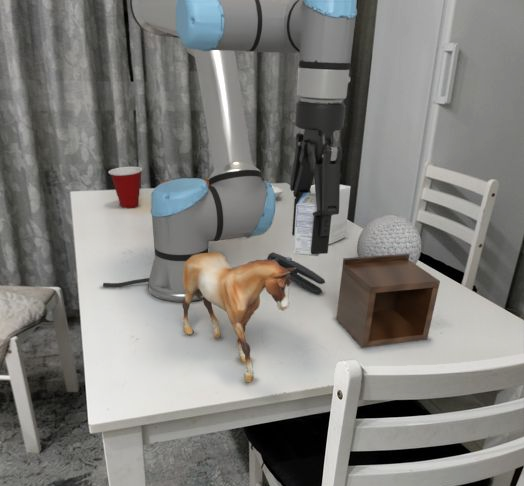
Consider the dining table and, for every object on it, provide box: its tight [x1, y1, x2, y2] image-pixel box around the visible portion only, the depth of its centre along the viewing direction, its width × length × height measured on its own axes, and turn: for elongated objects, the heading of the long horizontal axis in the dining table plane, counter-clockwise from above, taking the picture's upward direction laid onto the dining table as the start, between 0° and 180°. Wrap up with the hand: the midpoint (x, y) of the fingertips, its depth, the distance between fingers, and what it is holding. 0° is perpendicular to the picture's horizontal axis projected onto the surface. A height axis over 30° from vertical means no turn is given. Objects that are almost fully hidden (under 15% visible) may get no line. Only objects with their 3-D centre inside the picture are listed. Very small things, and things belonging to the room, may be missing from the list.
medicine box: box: [293, 193, 320, 257], centre depth 89 cm, size 8×4×9 cm, turn 168°
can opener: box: [266, 252, 326, 295], centre depth 122 cm, size 18×7×6 cm, turn 40°
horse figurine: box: [181, 252, 296, 383], centre depth 90 cm, size 31×8×21 cm, turn 35°
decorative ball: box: [356, 214, 422, 265], centre depth 125 cm, size 15×15×15 cm
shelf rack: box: [335, 254, 441, 348], centre depth 101 cm, size 14×12×13 cm
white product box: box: [310, 184, 352, 245], centre depth 150 cm, size 9×9×15 cm
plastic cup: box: [108, 166, 143, 209], centre depth 173 cm, size 11×11×12 cm
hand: (309, 243), depth 91 cm, fingers closed on medicine box, 9 cm apart
